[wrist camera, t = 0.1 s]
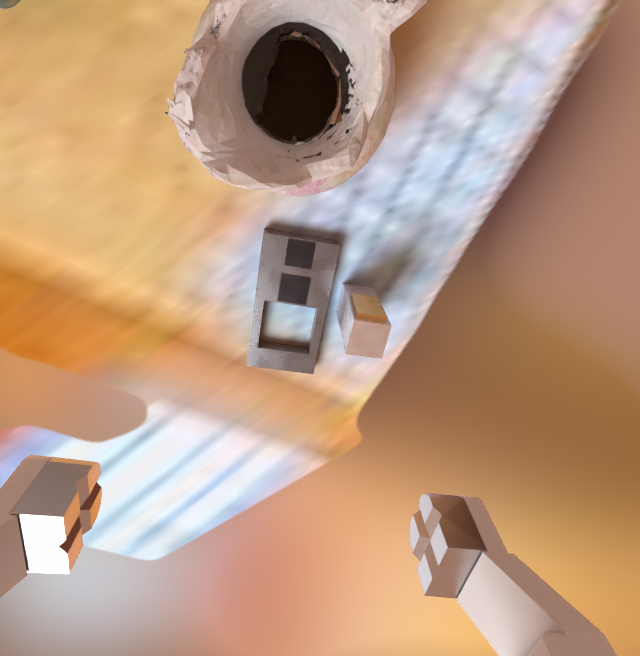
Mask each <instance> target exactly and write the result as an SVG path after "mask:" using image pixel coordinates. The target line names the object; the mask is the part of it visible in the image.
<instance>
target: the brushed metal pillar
mask: <svg viewBox="0 0 640 656" xmlns="http://www.w3.org/2000/svg"><path fill="white" fill-rule="evenodd" d="M336 313H337V317H338V322H339V326H340V330H341V335H342V339H343V343H344V348H345V352H346V354H351V355H359V356H366V357H374V358H382V356H383V352H384V349H385V346H386V342H387V339H388V335H389V332H390V328H391V324H390V322H389V320H388V317H387V315H386V313H385V311H384V309H383V307H382V305H381V303H380V300H379V298H378V296H377V294H376V292H375V290H374V288H371V287H364V286H358V285H352V284H345V283H343V284H342V288H341V293H340V297H339V302H338V306H337V311H336Z"/></svg>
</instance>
